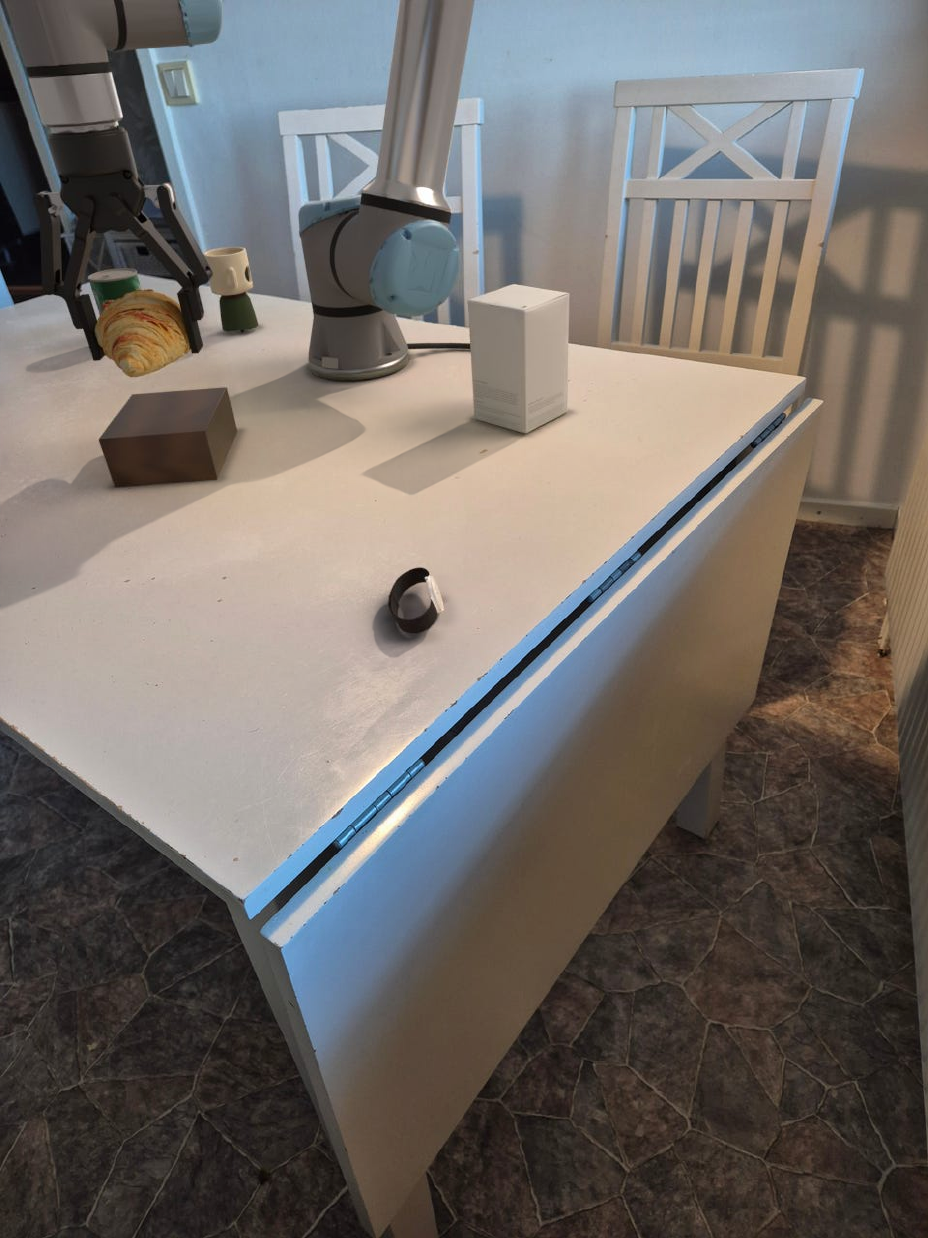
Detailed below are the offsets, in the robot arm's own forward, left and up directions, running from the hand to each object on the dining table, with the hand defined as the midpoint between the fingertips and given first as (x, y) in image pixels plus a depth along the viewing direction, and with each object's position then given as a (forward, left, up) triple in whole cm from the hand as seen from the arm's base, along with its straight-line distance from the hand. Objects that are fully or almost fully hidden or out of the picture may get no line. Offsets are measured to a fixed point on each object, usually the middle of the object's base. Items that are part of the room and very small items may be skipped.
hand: (149, 353), depth 92 cm
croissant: (0, 0, 0) cm, 0 cm away
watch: (-29, +37, -13) cm, 49 cm away
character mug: (+1, -53, -13) cm, 55 cm away
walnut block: (0, 0, -13) cm, 13 cm away
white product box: (-43, -5, -13) cm, 45 cm away
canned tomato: (+20, -52, -13) cm, 57 cm away
